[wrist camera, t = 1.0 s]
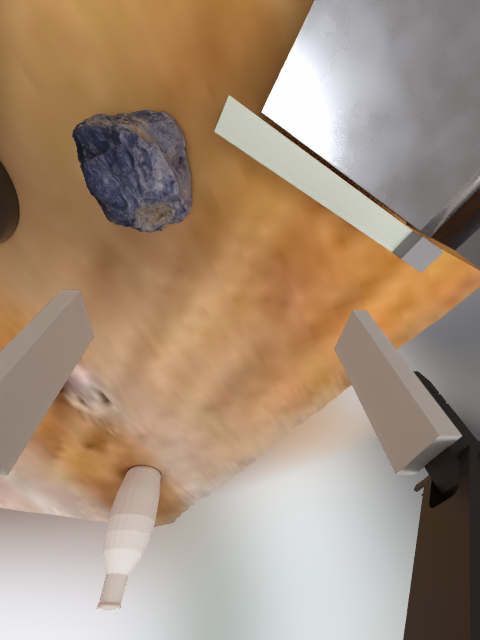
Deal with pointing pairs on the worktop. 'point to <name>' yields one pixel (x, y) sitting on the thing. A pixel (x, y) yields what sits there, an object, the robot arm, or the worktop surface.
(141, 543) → the bottle
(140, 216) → the rock
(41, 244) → the worktop surface
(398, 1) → the trapdoor
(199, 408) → the worktop surface
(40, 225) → the worktop surface
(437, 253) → the frame
